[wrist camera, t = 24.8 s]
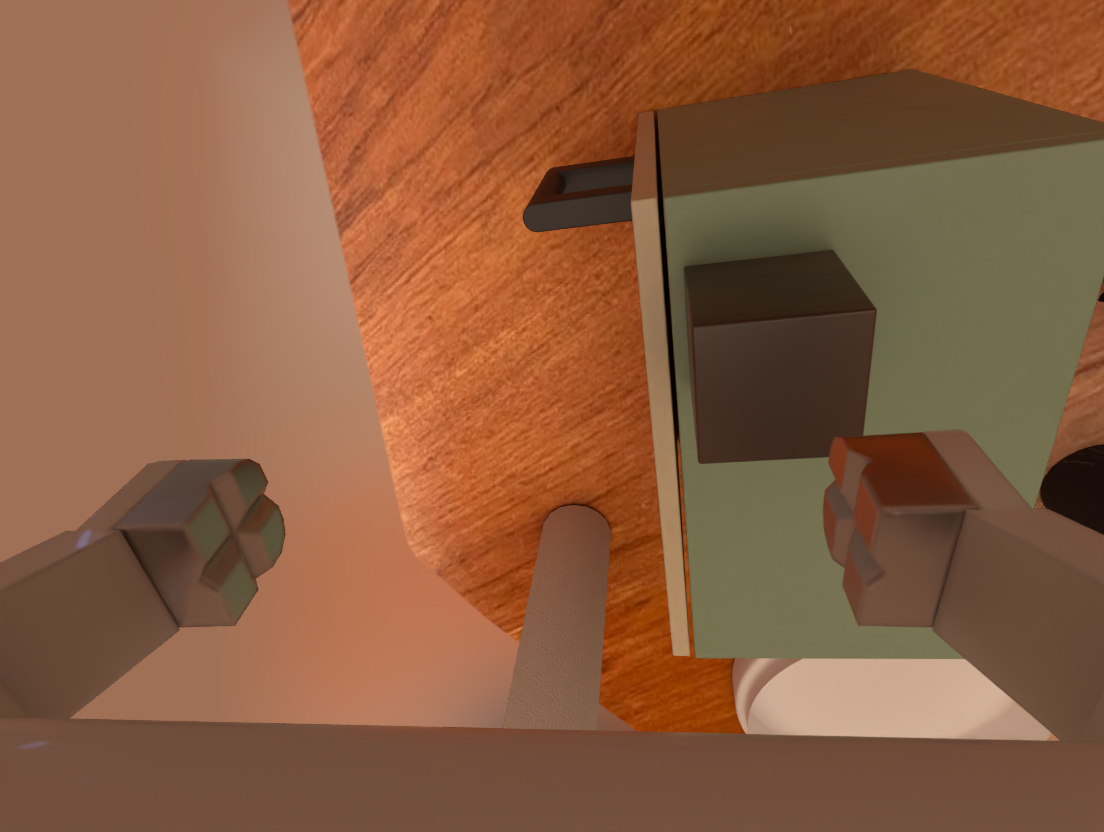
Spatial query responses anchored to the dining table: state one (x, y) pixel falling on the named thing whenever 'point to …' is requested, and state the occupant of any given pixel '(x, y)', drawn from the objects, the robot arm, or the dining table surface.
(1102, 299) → the dragon fruit
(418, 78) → the dining table surface
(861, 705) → the plate
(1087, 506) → the travel mug
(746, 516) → the cupboard
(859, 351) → the block
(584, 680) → the paper towel roll
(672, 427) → the cupboard door
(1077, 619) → the robot arm
